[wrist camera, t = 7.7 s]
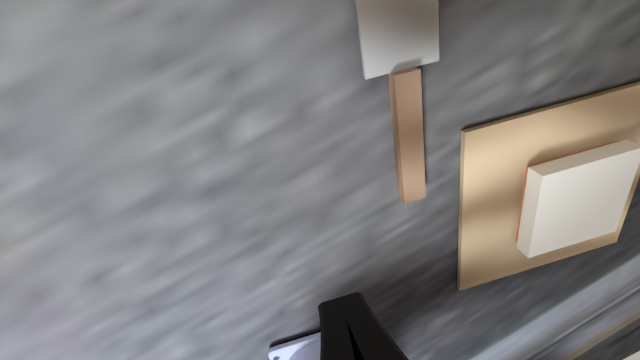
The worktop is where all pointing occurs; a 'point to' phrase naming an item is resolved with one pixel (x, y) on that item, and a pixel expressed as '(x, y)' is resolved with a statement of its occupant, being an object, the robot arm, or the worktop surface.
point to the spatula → (401, 74)
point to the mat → (509, 173)
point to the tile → (575, 197)
